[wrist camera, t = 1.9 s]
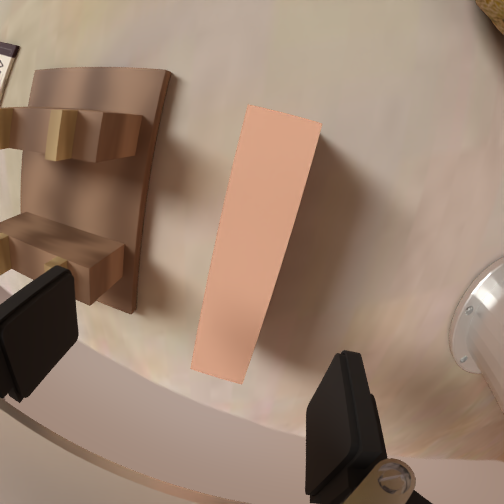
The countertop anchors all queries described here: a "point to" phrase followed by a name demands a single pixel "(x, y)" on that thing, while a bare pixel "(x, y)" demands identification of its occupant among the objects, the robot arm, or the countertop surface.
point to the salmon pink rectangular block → (252, 237)
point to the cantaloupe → (493, 12)
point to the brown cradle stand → (84, 177)
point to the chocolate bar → (6, 62)
